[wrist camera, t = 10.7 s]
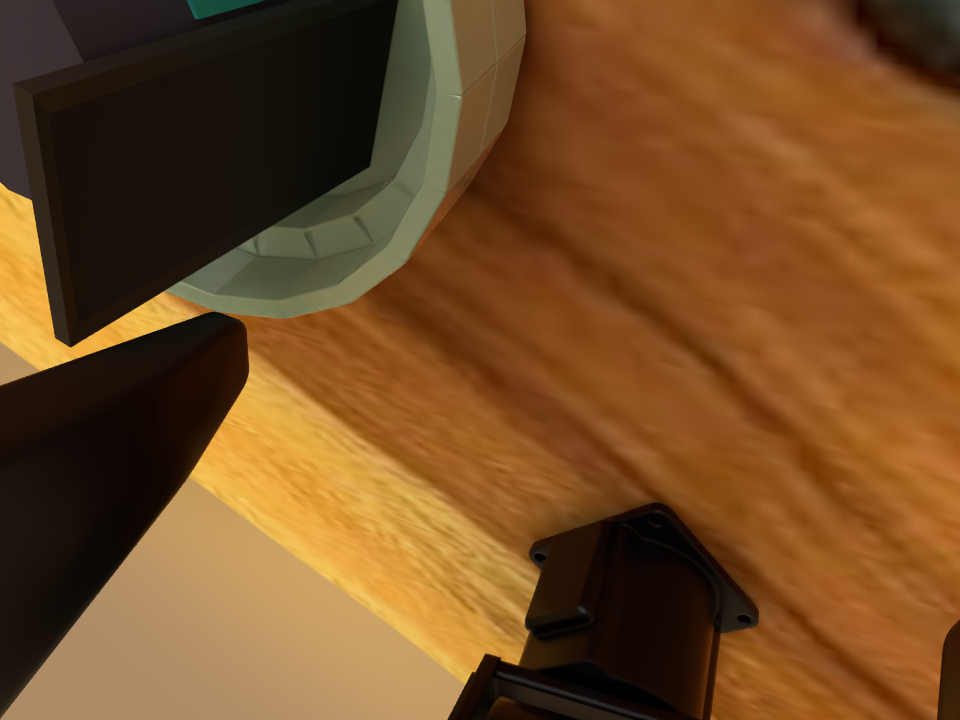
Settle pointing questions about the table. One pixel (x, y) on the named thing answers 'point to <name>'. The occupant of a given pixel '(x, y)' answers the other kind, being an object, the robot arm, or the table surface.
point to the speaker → (177, 131)
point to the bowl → (386, 168)
